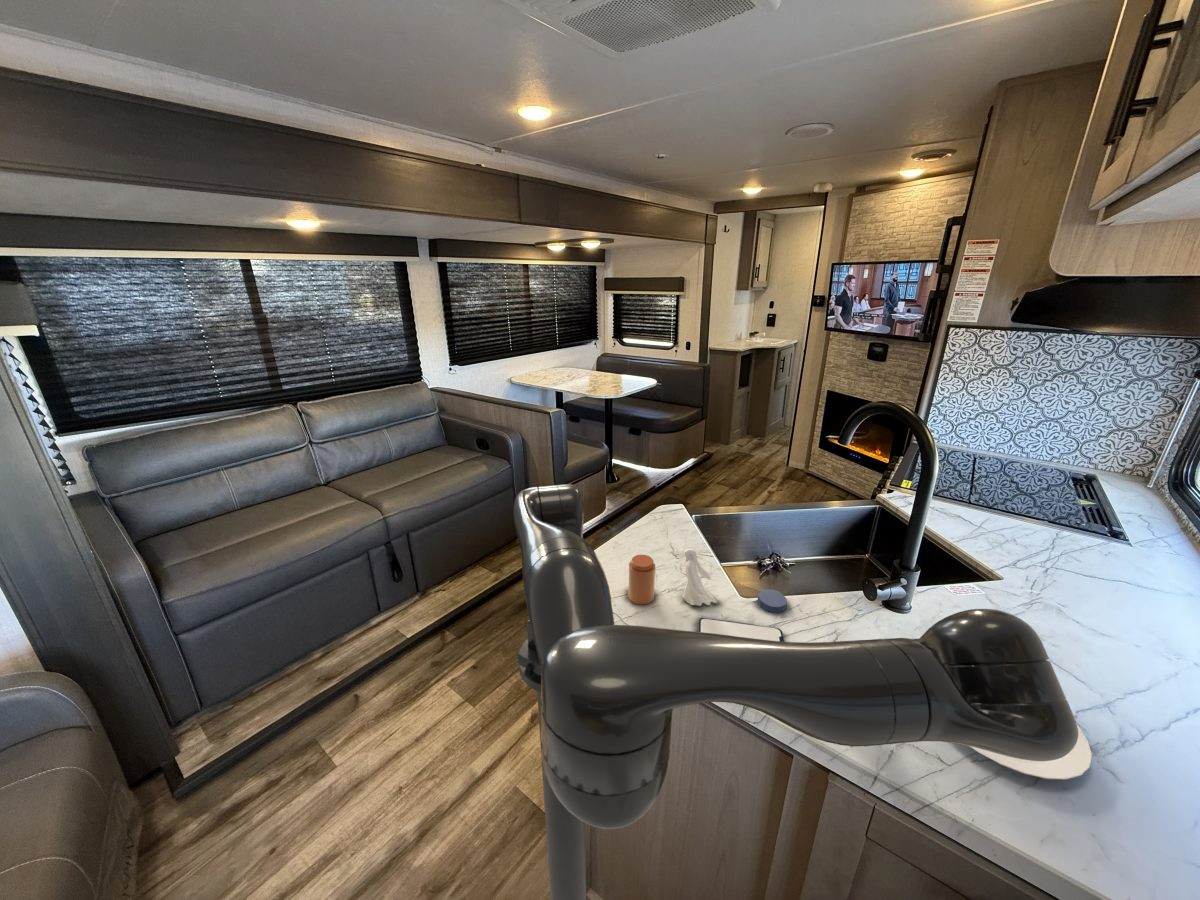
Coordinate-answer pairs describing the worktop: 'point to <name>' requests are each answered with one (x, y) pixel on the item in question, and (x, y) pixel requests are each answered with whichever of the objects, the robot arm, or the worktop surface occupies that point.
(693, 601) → the figurine
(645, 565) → the jar
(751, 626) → the smartphone
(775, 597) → the jar lid
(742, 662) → the robot arm
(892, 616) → the worktop surface
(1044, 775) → the plate
